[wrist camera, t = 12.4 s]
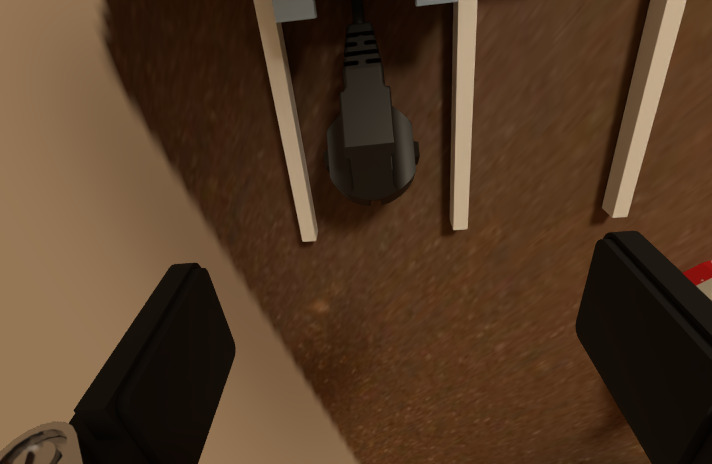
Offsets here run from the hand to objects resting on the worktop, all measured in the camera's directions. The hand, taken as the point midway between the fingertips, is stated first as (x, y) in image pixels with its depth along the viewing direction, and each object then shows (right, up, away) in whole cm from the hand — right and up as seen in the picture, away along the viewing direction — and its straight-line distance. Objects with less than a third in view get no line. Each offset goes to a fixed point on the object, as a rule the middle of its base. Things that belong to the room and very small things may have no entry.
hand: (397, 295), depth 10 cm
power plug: (0, +11, +16) cm, 19 cm away
